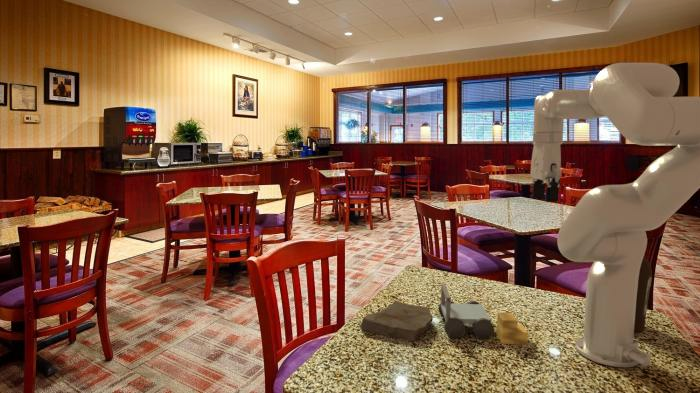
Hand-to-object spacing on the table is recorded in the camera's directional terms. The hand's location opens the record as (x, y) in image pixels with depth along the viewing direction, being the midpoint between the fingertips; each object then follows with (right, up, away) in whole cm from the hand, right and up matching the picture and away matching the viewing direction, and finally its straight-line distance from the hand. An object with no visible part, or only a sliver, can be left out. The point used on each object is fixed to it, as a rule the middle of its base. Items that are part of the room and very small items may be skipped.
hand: (544, 199), depth 115 cm
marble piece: (-43, -35, -7) cm, 55 cm away
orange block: (-16, -35, -16) cm, 41 cm away
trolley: (-26, -34, -9) cm, 43 cm away
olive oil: (+17, -34, -9) cm, 38 cm away
